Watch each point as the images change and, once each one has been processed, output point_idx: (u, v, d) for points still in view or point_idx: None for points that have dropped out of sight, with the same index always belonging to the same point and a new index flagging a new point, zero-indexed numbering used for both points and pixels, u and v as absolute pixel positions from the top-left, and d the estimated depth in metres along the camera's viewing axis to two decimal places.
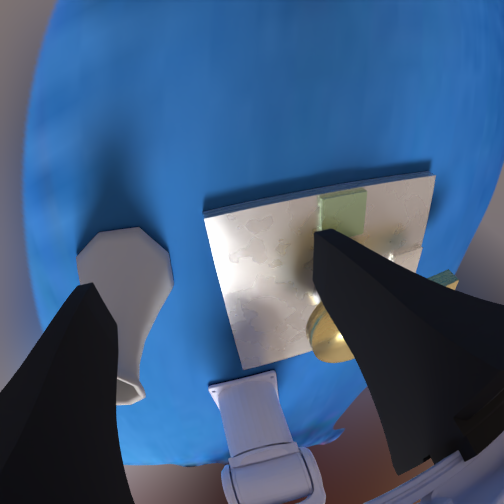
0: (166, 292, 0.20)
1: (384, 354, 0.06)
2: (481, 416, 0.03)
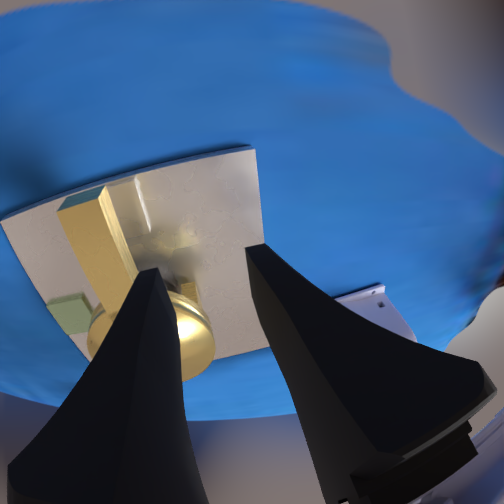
0: None
1: (299, 386, 0.06)
2: (389, 477, 0.03)
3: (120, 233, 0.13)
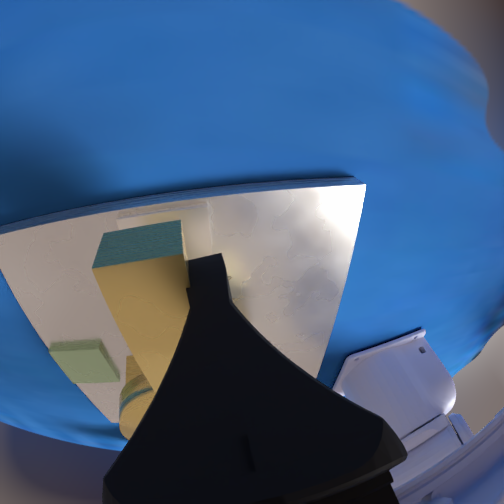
0: None
1: None
2: None
3: None
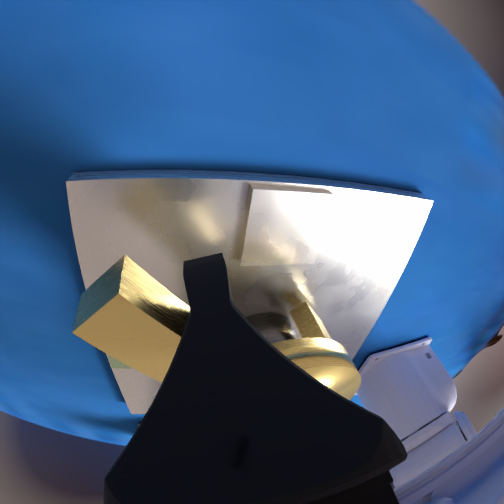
0: None
1: None
2: None
3: (184, 310, 0.09)
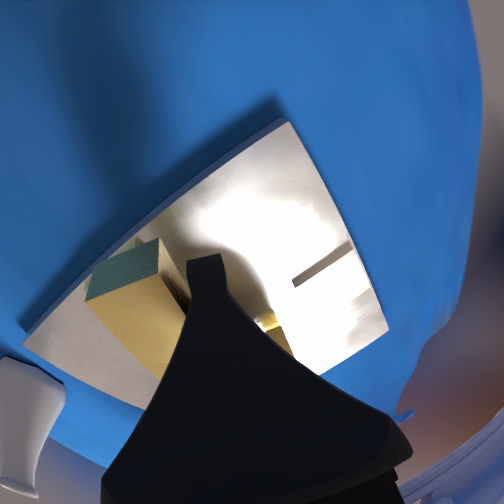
0: (55, 399, 0.16)
1: None
2: None
3: None
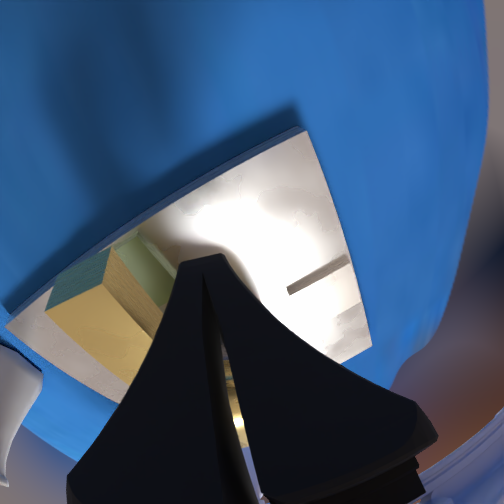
0: (31, 386, 0.14)
1: None
2: None
3: (155, 312, 0.09)
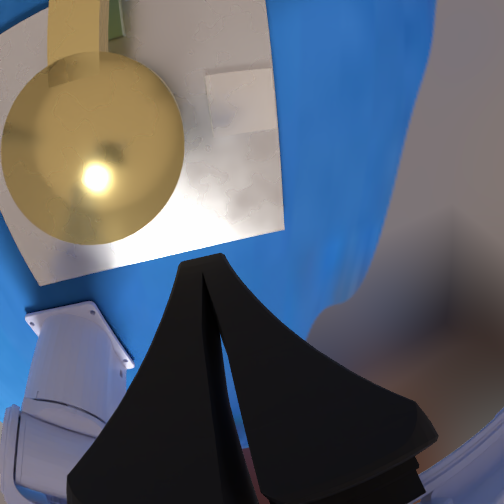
0: None
1: None
2: None
3: None
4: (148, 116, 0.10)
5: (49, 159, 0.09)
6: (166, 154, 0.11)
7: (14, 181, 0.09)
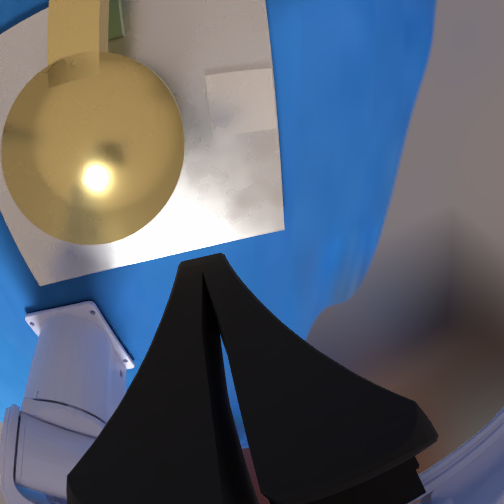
0: None
1: None
2: None
3: None
4: (148, 116, 0.10)
5: (49, 159, 0.09)
6: (166, 154, 0.11)
7: (14, 181, 0.09)
